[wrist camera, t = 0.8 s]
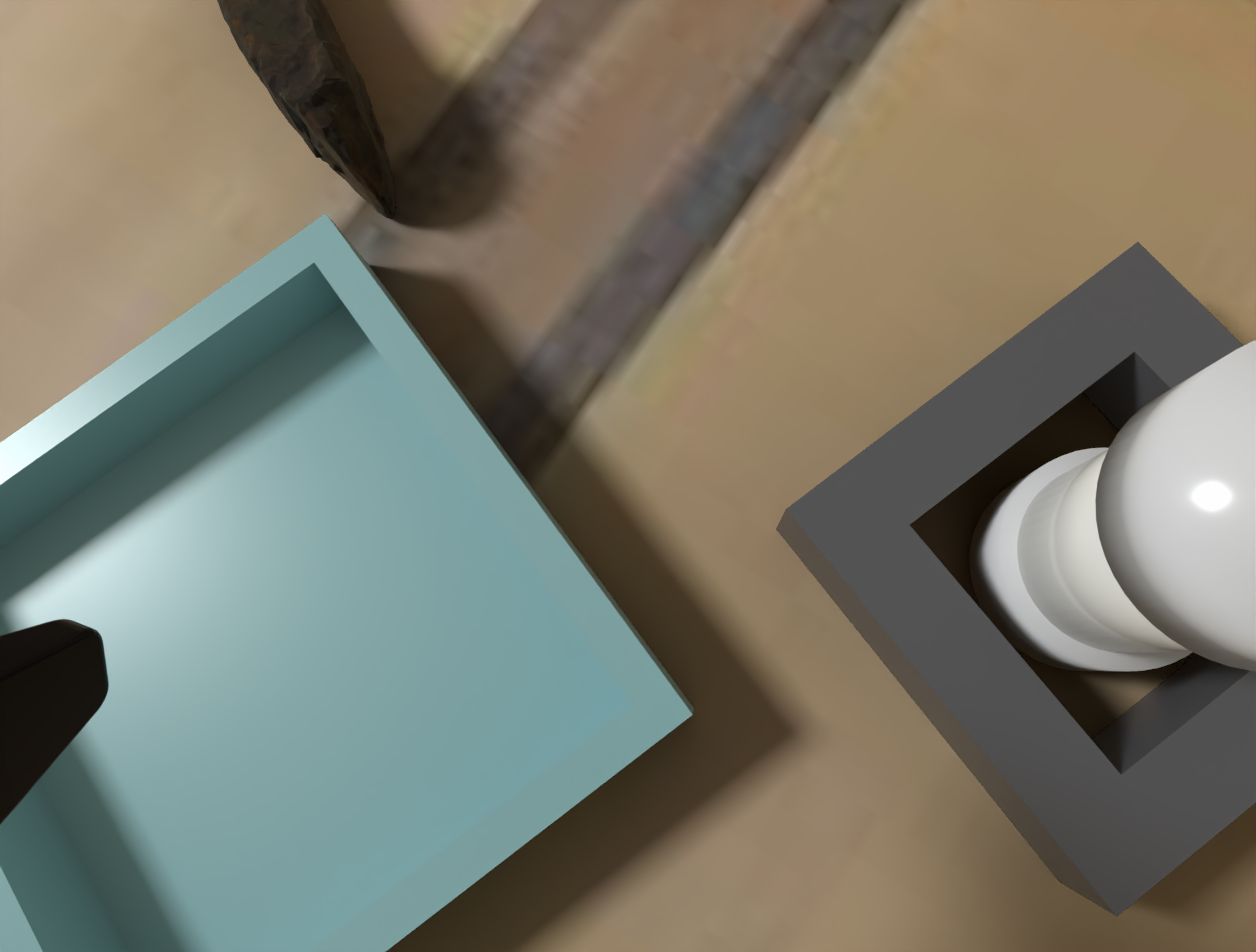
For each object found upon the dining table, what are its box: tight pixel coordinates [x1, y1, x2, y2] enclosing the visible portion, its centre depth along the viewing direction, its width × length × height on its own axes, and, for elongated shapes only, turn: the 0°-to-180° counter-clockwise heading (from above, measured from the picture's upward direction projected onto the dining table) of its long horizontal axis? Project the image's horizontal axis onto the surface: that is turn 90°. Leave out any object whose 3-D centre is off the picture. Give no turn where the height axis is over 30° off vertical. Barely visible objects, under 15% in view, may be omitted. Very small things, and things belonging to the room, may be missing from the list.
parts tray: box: [0, 214, 694, 952], centre depth 22 cm, size 16×16×3 cm
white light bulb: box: [969, 340, 1256, 671], centre depth 18 cm, size 5×5×10 cm
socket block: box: [776, 242, 1256, 916], centre depth 21 cm, size 11×11×3 cm
